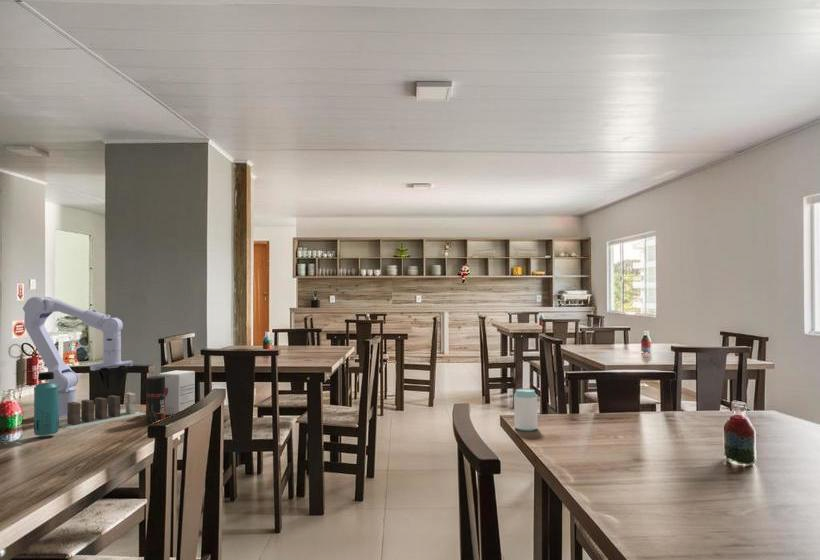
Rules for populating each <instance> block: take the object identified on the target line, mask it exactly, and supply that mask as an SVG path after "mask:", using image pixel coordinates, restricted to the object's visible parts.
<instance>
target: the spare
mask: <svg viewBox="0 0 820 560" xmlns="http://www.w3.org/2000/svg"><path fill="white" fill-rule="evenodd" d="M136 394H137V393H134V392H126V393H125V409H126V413H129V414H135V413H136V412H137V410H136V409H137V405H136V402H137V400H136V398H137V397H136V396H137V395H136Z"/></svg>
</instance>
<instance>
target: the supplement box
mask: <svg viewBox="0 0 820 560" xmlns="http://www.w3.org/2000/svg"><path fill="white" fill-rule="evenodd" d="M195 374H196V371H195V370H176V369H175V370H171V371H167V372H161V373H159V374H158V376H165V416H166V415H167V416H173V415H172V414H175V413H177V412H179V411H182V410H184V409H185V408H187V407H189V406H191V405H193V404H195V403H196V402H195V399H196V397H195V396H196V394H195V393H196V392H195V391H196V390H195V387H196V385H195V383H196V381H195V380H196V379H195V378H196V375H195Z"/></svg>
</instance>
